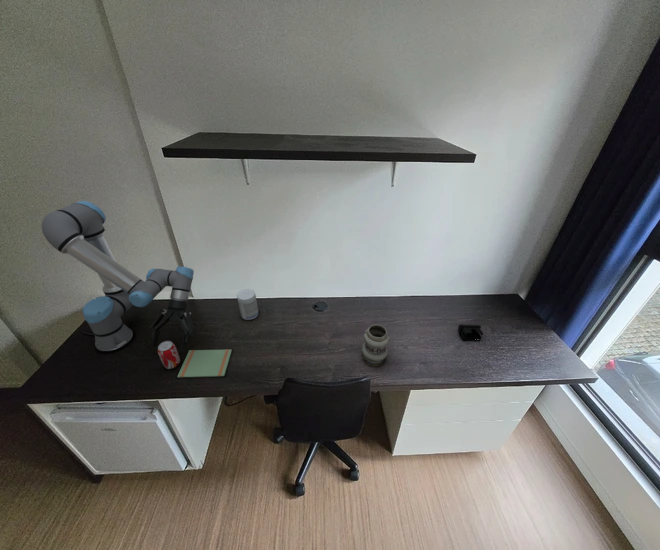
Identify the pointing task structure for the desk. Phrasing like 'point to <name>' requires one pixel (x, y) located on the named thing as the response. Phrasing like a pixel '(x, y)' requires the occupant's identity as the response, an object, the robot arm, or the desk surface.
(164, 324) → the robot arm
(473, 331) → the end cap
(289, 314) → the desk surface
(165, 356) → the soda can
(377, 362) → the apothecary jar
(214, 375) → the towel
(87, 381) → the desk surface
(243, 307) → the supplement tub
